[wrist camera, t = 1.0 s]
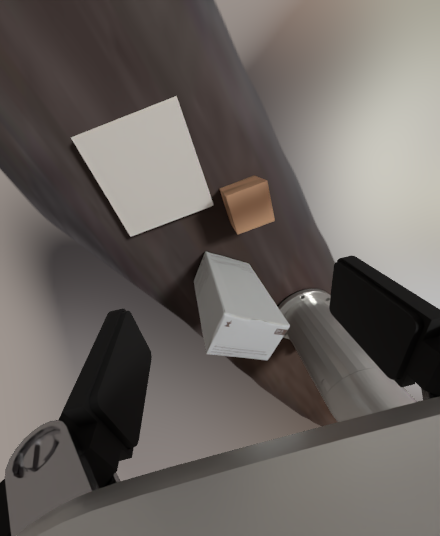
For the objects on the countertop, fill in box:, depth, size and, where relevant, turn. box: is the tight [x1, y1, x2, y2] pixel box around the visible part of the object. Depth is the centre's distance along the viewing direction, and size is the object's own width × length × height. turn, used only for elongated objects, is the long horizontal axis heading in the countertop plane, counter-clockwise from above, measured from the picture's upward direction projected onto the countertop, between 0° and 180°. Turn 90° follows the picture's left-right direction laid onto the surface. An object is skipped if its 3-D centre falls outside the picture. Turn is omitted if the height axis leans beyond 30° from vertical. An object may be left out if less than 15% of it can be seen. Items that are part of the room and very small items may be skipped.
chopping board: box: [71, 96, 214, 237], centre depth 26 cm, size 12×12×1 cm
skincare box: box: [194, 252, 290, 360], centre depth 29 cm, size 8×6×15 cm
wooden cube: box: [220, 176, 275, 235], centre depth 28 cm, size 5×5×5 cm
